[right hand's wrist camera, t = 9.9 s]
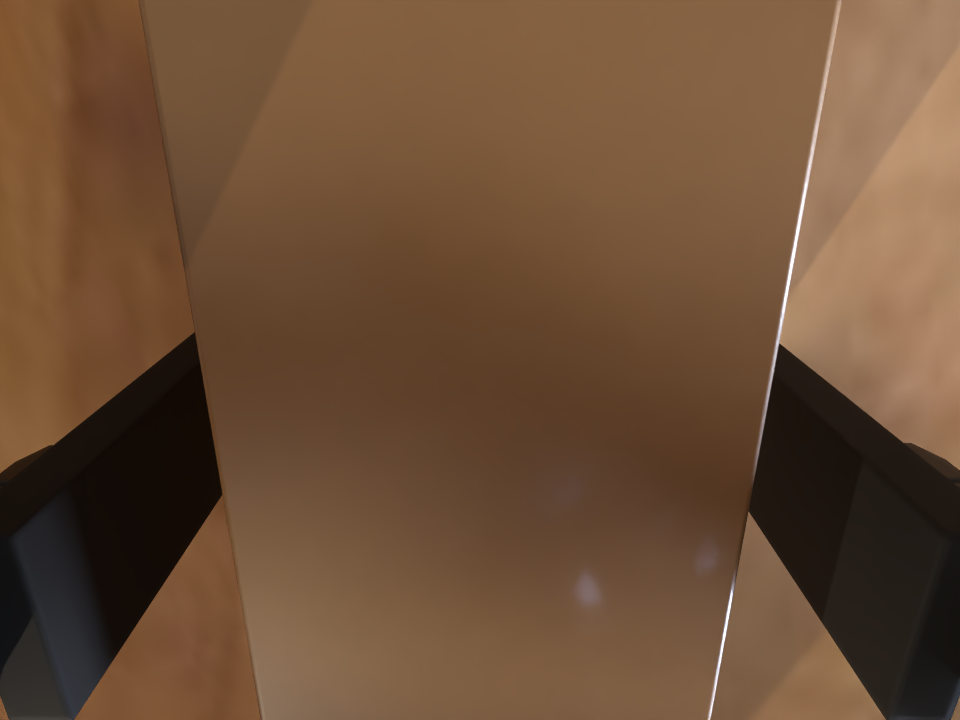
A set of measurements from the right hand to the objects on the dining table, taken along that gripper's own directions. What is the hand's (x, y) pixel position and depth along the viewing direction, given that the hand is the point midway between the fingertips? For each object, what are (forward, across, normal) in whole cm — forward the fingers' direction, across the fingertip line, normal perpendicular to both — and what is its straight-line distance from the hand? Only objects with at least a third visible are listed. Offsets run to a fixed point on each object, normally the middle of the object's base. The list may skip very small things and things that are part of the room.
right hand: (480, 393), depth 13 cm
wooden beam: (+3, 0, -25) cm, 25 cm away
